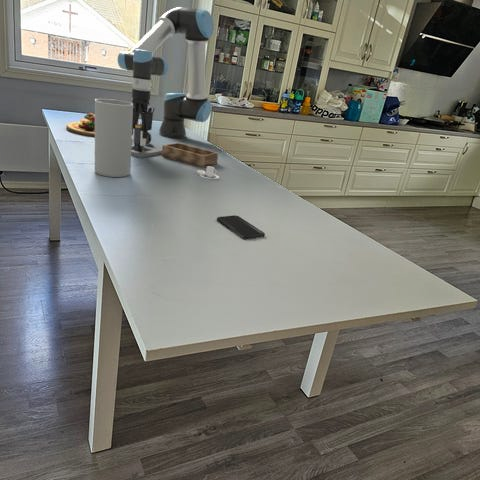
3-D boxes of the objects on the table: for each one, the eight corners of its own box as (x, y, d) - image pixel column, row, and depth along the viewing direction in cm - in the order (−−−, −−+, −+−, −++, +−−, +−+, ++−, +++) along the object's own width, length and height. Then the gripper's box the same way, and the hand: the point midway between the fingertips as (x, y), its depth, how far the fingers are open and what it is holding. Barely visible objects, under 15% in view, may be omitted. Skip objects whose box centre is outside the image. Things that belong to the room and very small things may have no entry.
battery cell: (138, 150, 186) (139, 122, 181) (145, 152, 185) (146, 123, 180) (132, 151, 183) (133, 122, 178) (139, 153, 182) (140, 124, 176)
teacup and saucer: (194, 174, 164) (195, 164, 163) (208, 173, 170) (209, 163, 169) (208, 180, 159) (209, 170, 158) (223, 179, 165) (224, 169, 163)
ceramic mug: (151, 143, 205) (151, 128, 202) (151, 146, 198) (151, 131, 195) (130, 141, 203) (130, 126, 200) (129, 144, 196) (129, 129, 193)
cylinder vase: (137, 176, 150) (140, 105, 140) (106, 179, 141) (107, 104, 131) (118, 167, 157) (120, 99, 147) (88, 169, 148) (87, 98, 138)
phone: (236, 215, 125) (266, 234, 114) (236, 218, 126) (265, 237, 115) (215, 217, 121) (243, 237, 110) (214, 220, 121) (243, 241, 110)
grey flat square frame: (136, 146, 193) (136, 143, 192) (162, 153, 187) (162, 150, 187) (114, 150, 181) (114, 146, 180) (140, 158, 175) (140, 154, 174)
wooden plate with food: (64, 124, 220) (64, 108, 216) (124, 128, 234) (125, 113, 230) (69, 136, 194) (68, 119, 191) (136, 140, 208) (137, 124, 205)
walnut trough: (161, 156, 184) (162, 145, 182) (177, 153, 194) (178, 142, 192) (202, 167, 175) (204, 156, 173) (217, 163, 185) (218, 152, 183)
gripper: (120, 86, 173) (118, 141, 183) (151, 92, 167) (148, 149, 176) (132, 86, 180) (130, 139, 189) (162, 92, 173) (159, 147, 183)
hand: (138, 144), depth 183 cm, fingers closed on battery cell, 4 cm apart
